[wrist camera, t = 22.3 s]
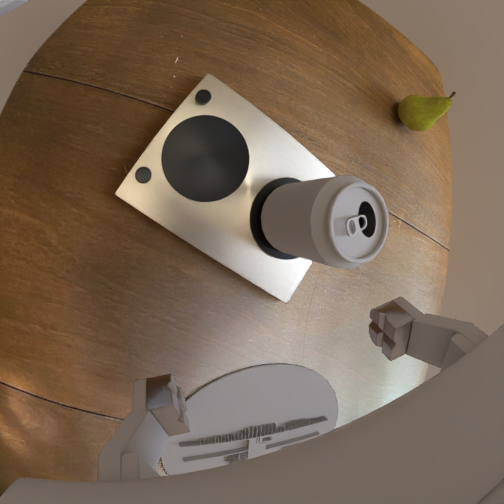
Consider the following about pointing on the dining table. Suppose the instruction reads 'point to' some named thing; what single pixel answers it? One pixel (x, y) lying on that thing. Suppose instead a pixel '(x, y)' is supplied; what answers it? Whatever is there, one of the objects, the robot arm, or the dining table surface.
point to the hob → (223, 183)
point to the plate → (251, 417)
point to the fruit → (422, 111)
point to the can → (327, 220)
